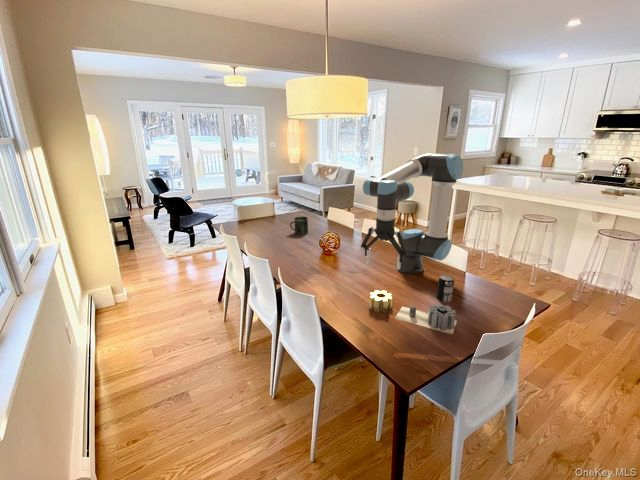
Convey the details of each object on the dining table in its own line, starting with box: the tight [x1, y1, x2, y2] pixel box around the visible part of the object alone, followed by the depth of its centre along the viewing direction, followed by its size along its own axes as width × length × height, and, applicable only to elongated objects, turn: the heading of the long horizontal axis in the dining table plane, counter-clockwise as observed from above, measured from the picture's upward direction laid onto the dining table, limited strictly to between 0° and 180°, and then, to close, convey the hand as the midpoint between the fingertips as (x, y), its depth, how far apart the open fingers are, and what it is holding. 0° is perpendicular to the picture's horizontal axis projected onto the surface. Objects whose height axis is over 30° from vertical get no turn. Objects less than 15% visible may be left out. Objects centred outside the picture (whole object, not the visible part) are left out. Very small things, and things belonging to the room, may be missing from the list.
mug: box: [289, 215, 309, 235], centre depth 248 cm, size 11×15×12 cm
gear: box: [427, 303, 457, 332], centre depth 129 cm, size 10×10×7 cm
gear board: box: [394, 305, 458, 335], centre depth 132 cm, size 11×23×5 cm, turn 60°
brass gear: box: [368, 289, 393, 314], centre depth 144 cm, size 10×10×6 cm
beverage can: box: [436, 274, 455, 303], centre depth 147 cm, size 7×7×12 cm
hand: (383, 265), depth 138 cm, fingers open, 13 cm apart
